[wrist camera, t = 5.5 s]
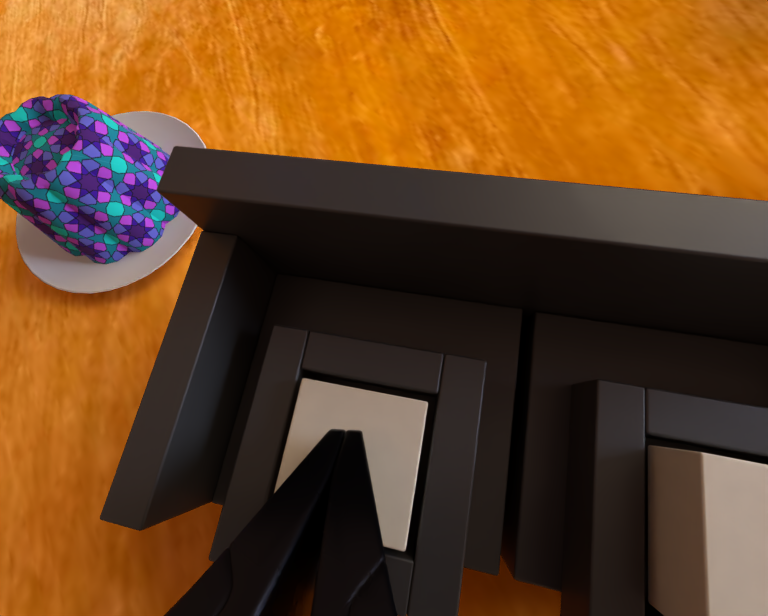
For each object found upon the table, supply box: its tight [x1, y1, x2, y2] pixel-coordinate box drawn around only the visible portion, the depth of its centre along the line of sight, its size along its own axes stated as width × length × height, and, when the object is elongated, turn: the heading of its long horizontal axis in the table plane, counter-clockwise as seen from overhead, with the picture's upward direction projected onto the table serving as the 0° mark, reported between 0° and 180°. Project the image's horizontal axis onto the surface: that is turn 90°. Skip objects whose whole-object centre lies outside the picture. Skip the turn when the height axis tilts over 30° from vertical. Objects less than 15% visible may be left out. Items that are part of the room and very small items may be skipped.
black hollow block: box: [100, 146, 768, 531], centre depth 11 cm, size 9×21×10 cm, turn 79°
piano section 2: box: [209, 273, 523, 616], centre depth 13 cm, size 9×9×7 cm
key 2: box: [274, 378, 428, 551], centre depth 10 cm, size 4×4×2 cm
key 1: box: [648, 445, 768, 616], centre depth 8 cm, size 4×4×2 cm
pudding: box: [0, 94, 206, 293], centre depth 19 cm, size 12×12×5 cm
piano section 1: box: [501, 311, 768, 616], centre depth 12 cm, size 9×9×7 cm
